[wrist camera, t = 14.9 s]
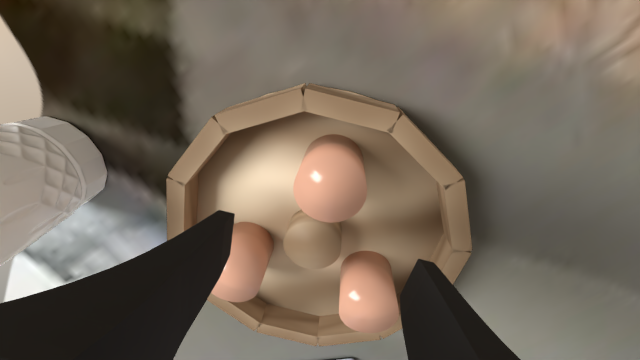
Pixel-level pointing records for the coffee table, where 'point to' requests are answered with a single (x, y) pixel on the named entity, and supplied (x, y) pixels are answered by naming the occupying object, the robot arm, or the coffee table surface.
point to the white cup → (43, 179)
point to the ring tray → (273, 203)
